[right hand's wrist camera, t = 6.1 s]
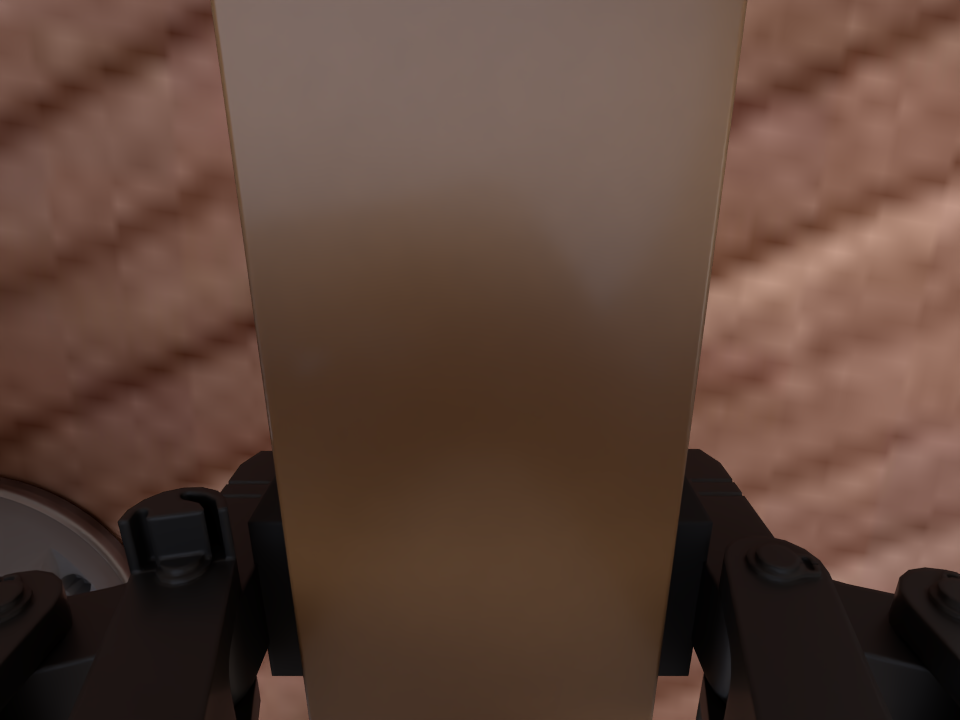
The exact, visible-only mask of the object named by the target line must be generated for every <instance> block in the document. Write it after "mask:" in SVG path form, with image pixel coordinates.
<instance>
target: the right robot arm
mask: <svg viewBox="0 0 960 720" xmlns="http://www.w3.org/2000/svg"><path fill="white" fill-rule="evenodd" d="M118 525H119V529H120V533H121V537H122V541H123V545H124V547H123V546H122V545H121V544H120V543H119V541H118V540H117V539H116V538H115V537H114V536H113V535H112V534H111V533H110V532H109V531H108V530H107V529H105V528H104V527H103V526H102V525H101V524H100V523H98V522H97V521H96V520H95V519H93V518H92V517H91V516H90V515H88V514H87V513H85V512H84V511H82V510H81V509H79V508H78V507H76V506H74V505H73V504H71V503H69V502H67V501H66V500H64V499H62V498H60V497H58V496H56V495H54V494H52V493H50V492H47V491H45V490H42V489H40V488H37V487H35V486H32V485H29V484H25V483H22V482H19V481H15V480H11V479H6V478H2V477H0V720H258V718H259V709H260V694H259V687H258V681H257V673H258V671H259V668H260V666H261V663H262V661H263V658H264V656H265V654H266V651H267V649H268V654H269V660H270V666H271V672H272V676H303V670H302V663H301V655H300V648H299V641H298V634H297V626H296V619H295V612H294V605H293V597H292V590H291V583H290V575H289V568H288V561H287V554H286V546H285V539H284V532H283V525H282V517H281V510H280V503H279V495H278V488H277V481H276V474H275V466H274V459H273V452H272V451H261V452H259V453H258V454H256V455H255V456H253V457H252V458H250V459H249V460H247V461H246V462H244V463H243V464H241V465H240V466H239V468H238V469H237V470H236V472H235V473H234V475H233V476H232V477H231V479H230V480H229V484H226V486H225V487H224V488H223V490H222V491H221V493H219V492H218V491H216V490H212V489H208V488H204V487H191V488H180V489H175V490H171V491H166V492H162V493H160V494H157V495H155V496H152V497H150V498H147V499H144V500H143V501H141V502H140V503H138V504H136V505H135V506H133V507H132V508H130V509H129V510H127V512H126V513H125V514H124V515H123V516H122V517H121V519H120V520H119V521H118ZM693 647H694V649H695V652H696V654H697V657H698V659H699V662H700V664H701V666H702V669H703V671H704V675H703V681H702V687H701V693H700V698H699V704H698V710H697V716H696V720H960V574H958V573H957V572H953V571H948V570H943V569H934V568H926V567H925V568H918V569H912V570H908V571H907V572H906V573H904V574H903V575H902V576H901V577H900V578H899V581H898V584H897V588H896V591H895V594H892V593H887V592H883V591H878V590H873V589H868V588H864V587H859V586H854V585H849V584H846V583H842V582H838V581H835V580H832V578H831V576H830V574H829V572H828V571H827V569H826V568H825V567H824V565H823V564H822V563H821V561H820V560H819V559H817V558H816V557H815V556H813V555H812V554H811V553H809V552H808V551H807V550H805V549H803V548H801V547H799V546H797V545H794V544H792V543H790V542H788V541H785V540H781V539H777V538H774V536H773V535H772V534H771V532H770V531H769V529H768V528H767V527H766V525H765V524H764V523H763V521H762V520H761V518H760V517H759V516H758V514H757V513H756V512H755V510H754V509H753V507H752V506H751V505H750V503H749V502H748V500H747V499H746V498H745V496H742V492H741V491H740V489H739V488H738V487H737V485H736V484H735V483H734V482H732V478H731V477H730V476H729V474H728V473H727V471H726V470H725V469H724V467H723V466H722V465H721V463H720V462H718V461H717V460H715V459H714V458H712V457H711V456H709V455H708V454H706V453H705V452H703V451H702V450H700V449H688V452H687V460H686V467H685V475H684V482H683V490H682V497H681V505H680V513H679V520H678V528H677V535H676V543H675V550H674V558H673V565H672V573H671V581H670V588H669V596H668V603H667V611H666V618H665V626H664V633H663V641H662V649H661V656H660V664H659V671H658V676H688V675H689V669H690V662H691V656H692V650H693Z"/></svg>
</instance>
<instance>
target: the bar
mask: <svg viewBox="0 0 960 720" xmlns="http://www.w3.org/2000/svg"><path fill="white" fill-rule="evenodd" d="M210 1H211V8H212V16H213V23H214V30H215V38H216V45H217V52H218V59H219V67H220V74H221V81H222V88H223V96H224V103H225V110H226V118H227V125H228V132H229V139H230V147H231V154H232V161H233V168H234V176H235V183H236V190H237V197H238V205H239V212H240V219H241V227H242V234H243V241H244V248H245V256H246V263H247V270H248V277H249V285H250V292H251V299H252V306H253V314H254V321H255V328H256V336H257V343H258V350H259V357H260V365H261V372H262V379H263V386H264V394H265V401H266V408H267V416H268V423H269V430H270V437H271V445H272V452H273V459H274V466H275V474H276V481H277V488H278V495H279V503H280V510H281V517H282V525H283V532H284V539H285V546H286V554H287V561H288V568H289V575H290V583H291V590H292V597H293V605H294V612H295V619H296V626H297V634H298V641H299V648H300V655H301V663H302V670H303V677H304V684H305V692H306V699H307V706H308V714H309V720H652V717H653V709H654V701H655V694H656V686H657V679H658V671H659V664H660V656H661V649H662V641H663V633H664V626H665V618H666V611H667V603H668V596H669V588H670V581H671V573H672V565H673V558H674V550H675V543H676V535H677V528H678V520H679V513H680V505H681V497H682V490H683V482H684V475H685V467H686V460H687V452H688V445H689V437H690V429H691V422H692V414H693V407H694V399H695V392H696V384H697V377H698V369H699V361H700V354H701V346H702V339H703V331H704V324H705V316H706V309H707V301H708V293H709V286H710V278H711V271H712V263H713V256H714V248H715V241H716V233H717V225H718V218H719V210H720V203H721V195H722V188H723V180H724V173H725V165H726V157H727V150H728V142H729V135H730V127H731V120H732V112H733V105H734V97H735V89H736V82H737V74H738V67H739V59H740V52H741V44H742V37H743V29H744V21H745V14H746V6H747V0H210Z"/></svg>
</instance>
